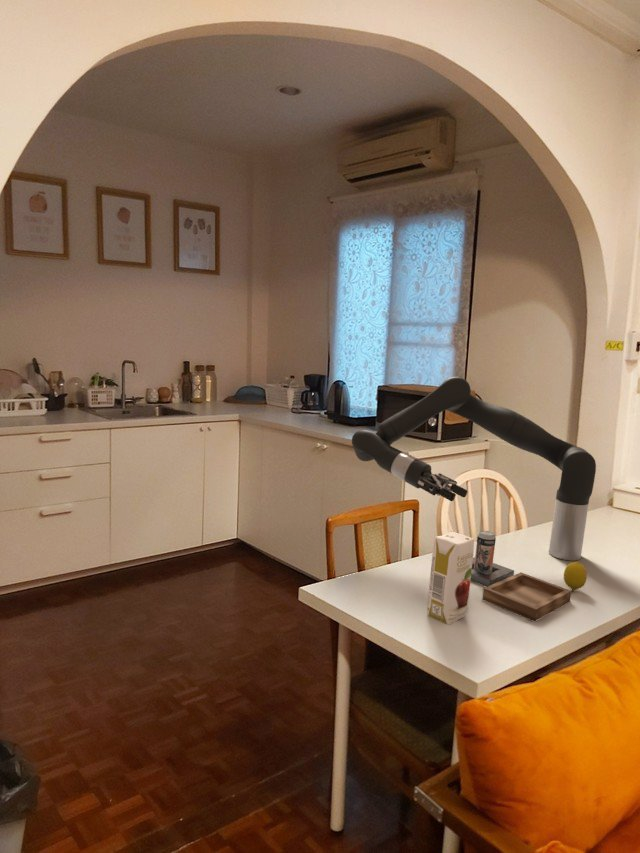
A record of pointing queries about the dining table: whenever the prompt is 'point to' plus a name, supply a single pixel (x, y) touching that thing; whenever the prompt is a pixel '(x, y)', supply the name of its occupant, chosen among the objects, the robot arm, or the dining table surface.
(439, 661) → the dining table surface
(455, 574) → the juice carton
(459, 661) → the dining table surface
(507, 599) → the tray
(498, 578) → the socket block
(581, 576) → the lemon
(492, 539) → the beer can
